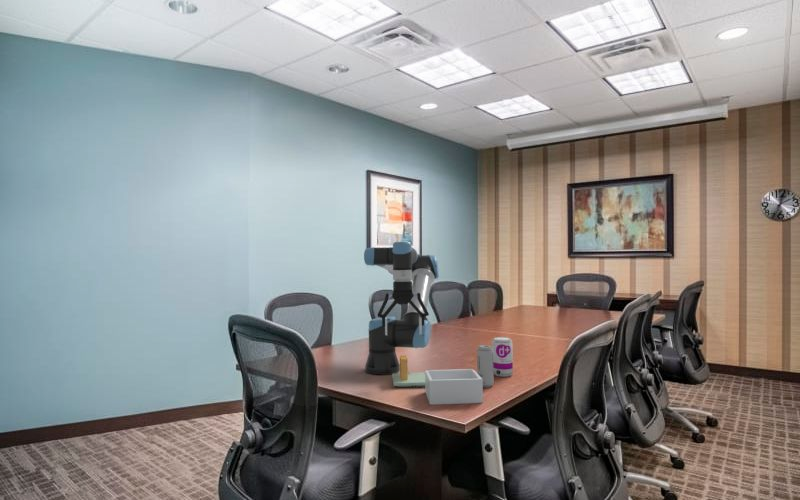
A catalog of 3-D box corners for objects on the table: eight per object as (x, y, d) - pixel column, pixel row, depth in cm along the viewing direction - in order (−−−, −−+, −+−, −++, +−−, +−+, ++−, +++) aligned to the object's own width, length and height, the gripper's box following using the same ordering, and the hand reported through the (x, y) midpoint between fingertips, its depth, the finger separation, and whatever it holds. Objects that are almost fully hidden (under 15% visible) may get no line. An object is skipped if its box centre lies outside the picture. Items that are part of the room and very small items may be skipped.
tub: (430, 404, 152) (429, 380, 152) (425, 392, 166) (424, 370, 166) (482, 402, 153) (482, 379, 153) (473, 390, 167) (473, 368, 167)
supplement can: (513, 377, 184) (512, 340, 185) (492, 376, 186) (492, 340, 186) (512, 372, 192) (511, 337, 193) (492, 371, 194) (492, 336, 194)
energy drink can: (476, 383, 176) (475, 345, 177) (491, 383, 177) (490, 344, 177) (479, 388, 170) (479, 348, 171) (495, 387, 171) (494, 347, 171)
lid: (393, 388, 171) (393, 362, 171) (392, 378, 186) (391, 353, 186) (442, 387, 172) (442, 360, 172) (437, 376, 187) (436, 352, 187)
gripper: (371, 281, 175) (371, 336, 175) (435, 280, 176) (436, 335, 176) (371, 280, 182) (371, 333, 182) (432, 279, 184) (433, 331, 184)
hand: (403, 334), depth 179 cm, fingers open, 13 cm apart
